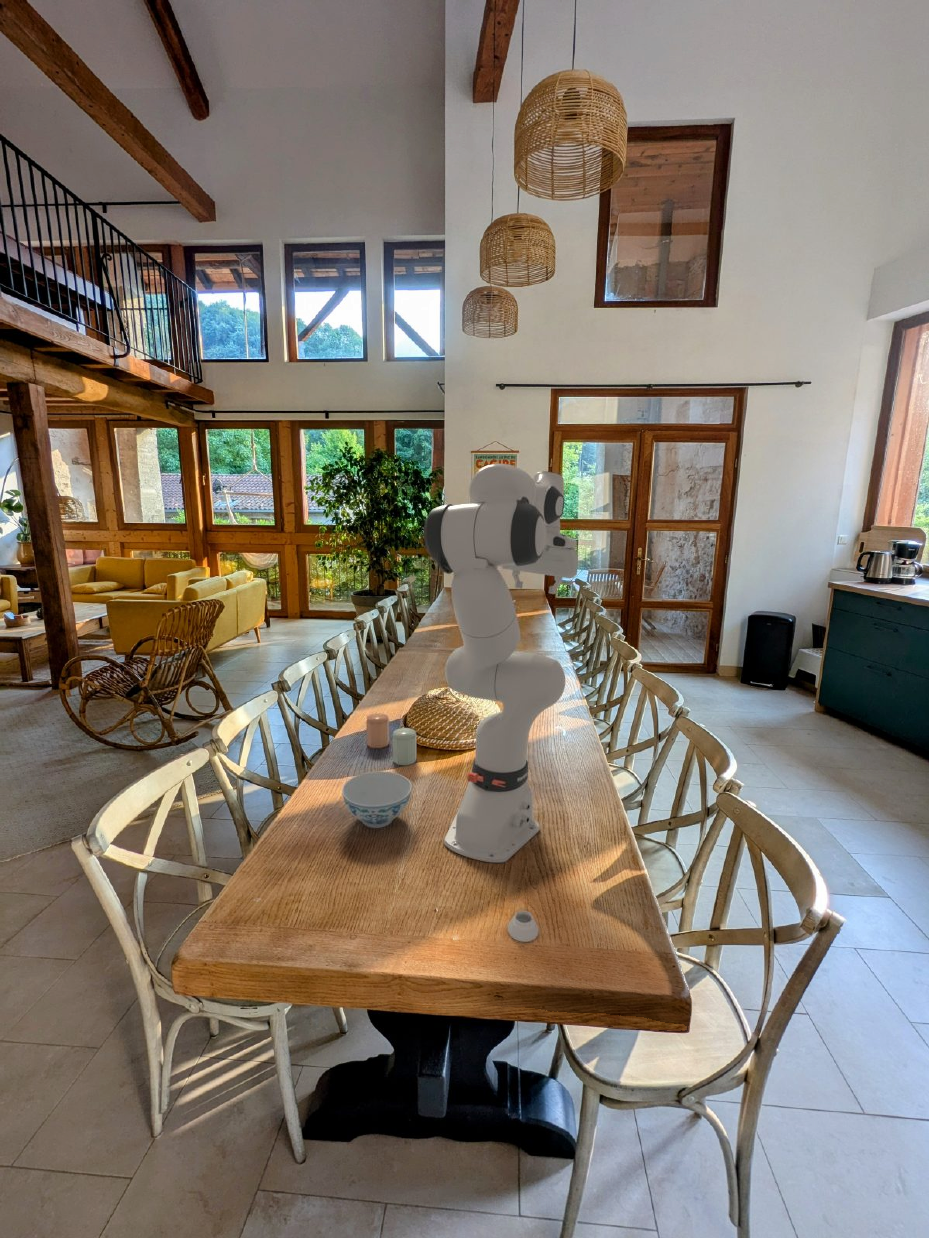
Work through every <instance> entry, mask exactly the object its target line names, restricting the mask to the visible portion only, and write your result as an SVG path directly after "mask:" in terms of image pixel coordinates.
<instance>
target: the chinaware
mask: <svg viewBox="0 0 929 1238" xmlns="http://www.w3.org/2000/svg"><path fill="white" fill-rule="evenodd" d="M412 789H413V787H412V782H411V781H410V780H409V779H408V778H407V777H406V776H403V774H399V773H397V772H393V771H383V770H382V771H370V772H365V773H361V774H358V775H355V776H354V777H351V778H350V779H349V780H347V781H346V782H345V783H344V784H343V786H342V790H341V793H342V798H343V801H344V804H345V806H346V808H347V810H348V811H349V813H350V814H352V816H353V817H355V819H357V820H359V821H361V822H362V824H363V825H365V826H366V827H368V828H373V829H379V828H384V827H386V826H389V825H390V824H391V823H393V821H394V819H395V818H397V817H398V816H399V815H400V814H402V812H404V810H405V808H406V806H407V804H408V803H409V801H410V798H411V793H412Z"/></svg>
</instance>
